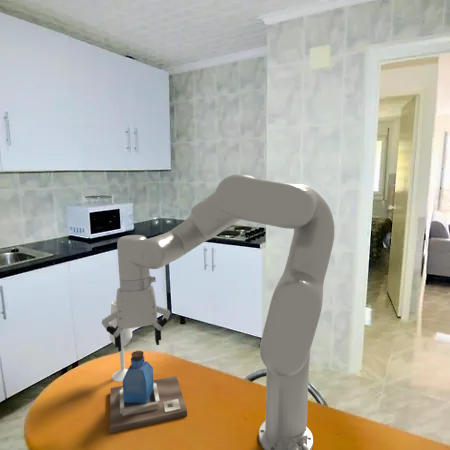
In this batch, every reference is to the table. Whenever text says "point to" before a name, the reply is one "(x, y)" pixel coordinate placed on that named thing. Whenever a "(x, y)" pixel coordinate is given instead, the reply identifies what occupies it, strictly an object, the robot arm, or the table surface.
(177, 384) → the board
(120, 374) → the champagne flute
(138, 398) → the perfume bottle
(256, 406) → the table surface
